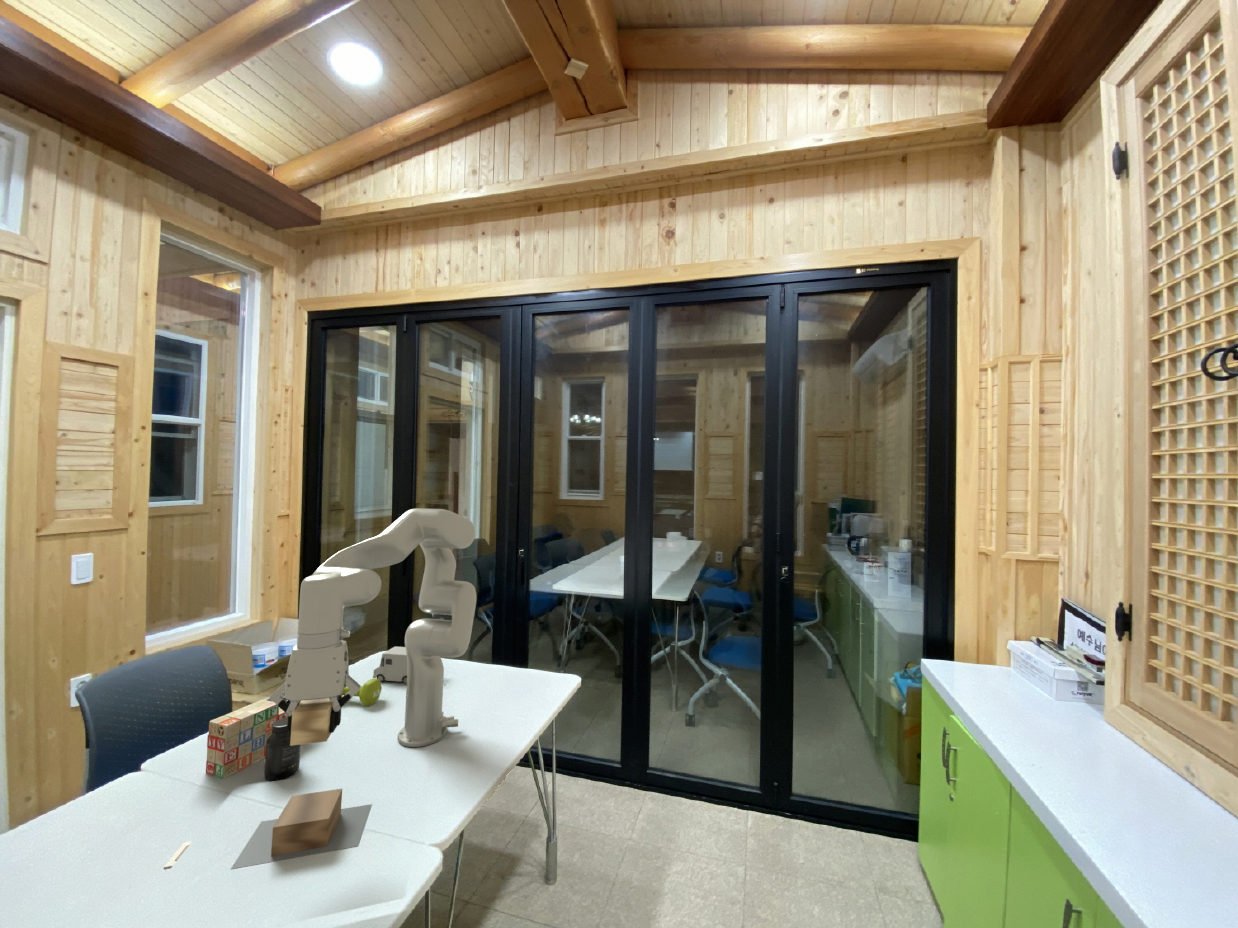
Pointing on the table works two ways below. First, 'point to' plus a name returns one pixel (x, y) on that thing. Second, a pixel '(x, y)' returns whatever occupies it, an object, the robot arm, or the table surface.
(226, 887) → the table surface
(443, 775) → the table surface
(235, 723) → the stack of blocks
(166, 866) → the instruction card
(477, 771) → the table surface
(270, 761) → the supplement bottle
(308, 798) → the brick
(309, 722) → the oak brick
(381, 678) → the toy vehicle
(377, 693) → the dumbbell
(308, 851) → the board
